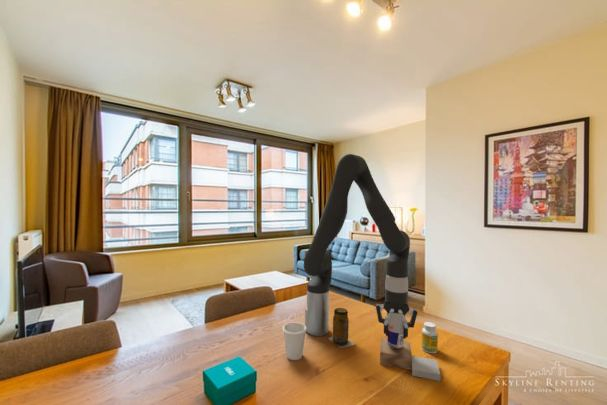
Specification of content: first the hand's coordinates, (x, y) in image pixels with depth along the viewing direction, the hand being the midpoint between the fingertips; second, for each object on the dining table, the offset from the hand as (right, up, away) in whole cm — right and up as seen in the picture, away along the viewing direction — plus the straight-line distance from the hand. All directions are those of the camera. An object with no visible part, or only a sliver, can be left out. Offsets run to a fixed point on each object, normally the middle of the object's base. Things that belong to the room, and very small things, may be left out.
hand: (395, 336), depth 96 cm
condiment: (-17, -8, +11) cm, 22 cm away
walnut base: (0, -8, 0) cm, 8 cm away
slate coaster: (+7, -8, -7) cm, 13 cm away
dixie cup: (-35, -8, +1) cm, 36 cm away
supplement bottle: (+15, -8, +6) cm, 18 cm away
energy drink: (0, -3, 0) cm, 3 cm away
